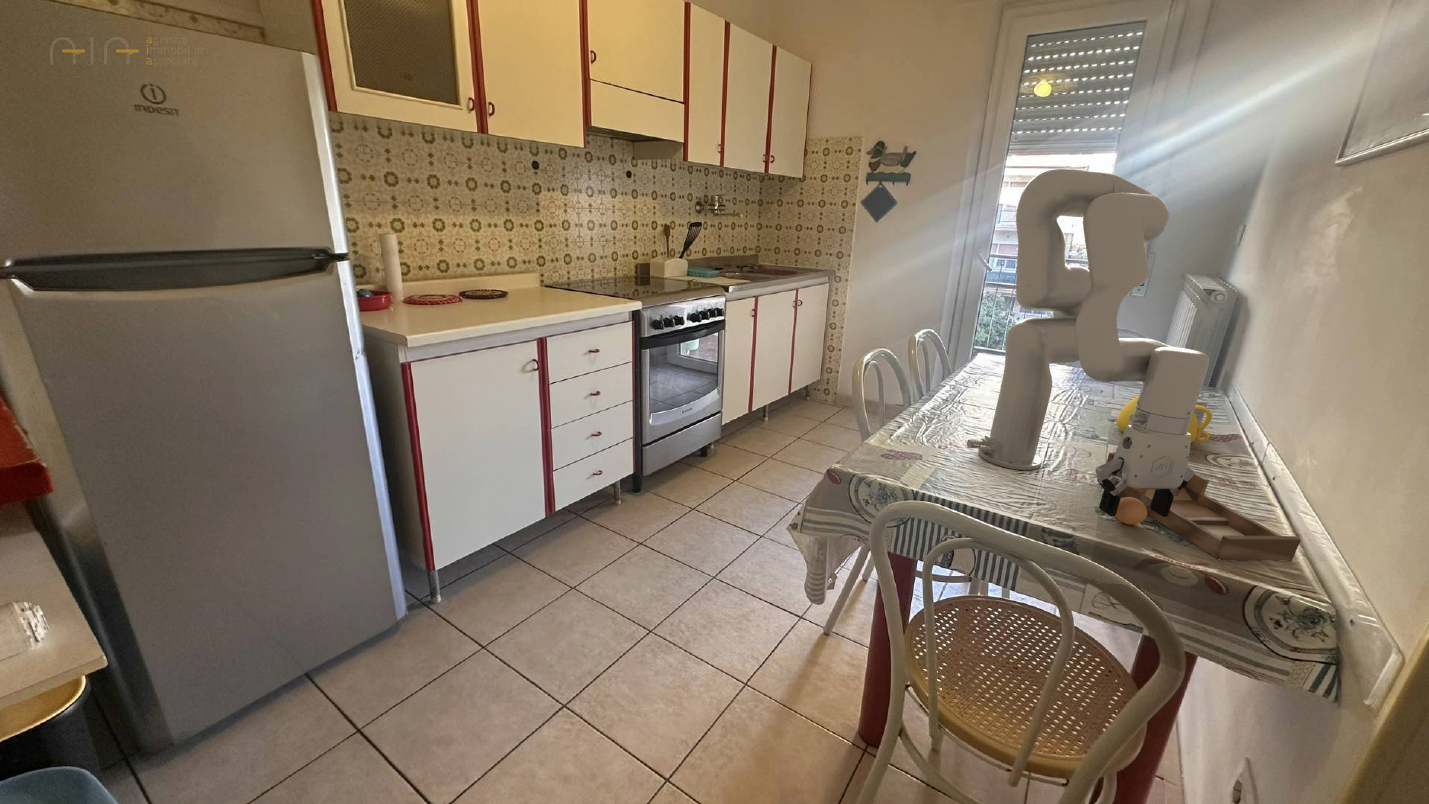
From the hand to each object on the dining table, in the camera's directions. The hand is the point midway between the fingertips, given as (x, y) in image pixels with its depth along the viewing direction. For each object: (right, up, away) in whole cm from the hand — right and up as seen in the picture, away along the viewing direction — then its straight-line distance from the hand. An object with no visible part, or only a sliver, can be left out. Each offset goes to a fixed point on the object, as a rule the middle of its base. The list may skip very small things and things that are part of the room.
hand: (1132, 512), depth 99 cm
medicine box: (+52, +12, +53) cm, 75 cm away
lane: (+13, -2, +4) cm, 13 cm away
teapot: (+39, +10, +43) cm, 59 cm away
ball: (0, 0, 0) cm, 1 cm away
